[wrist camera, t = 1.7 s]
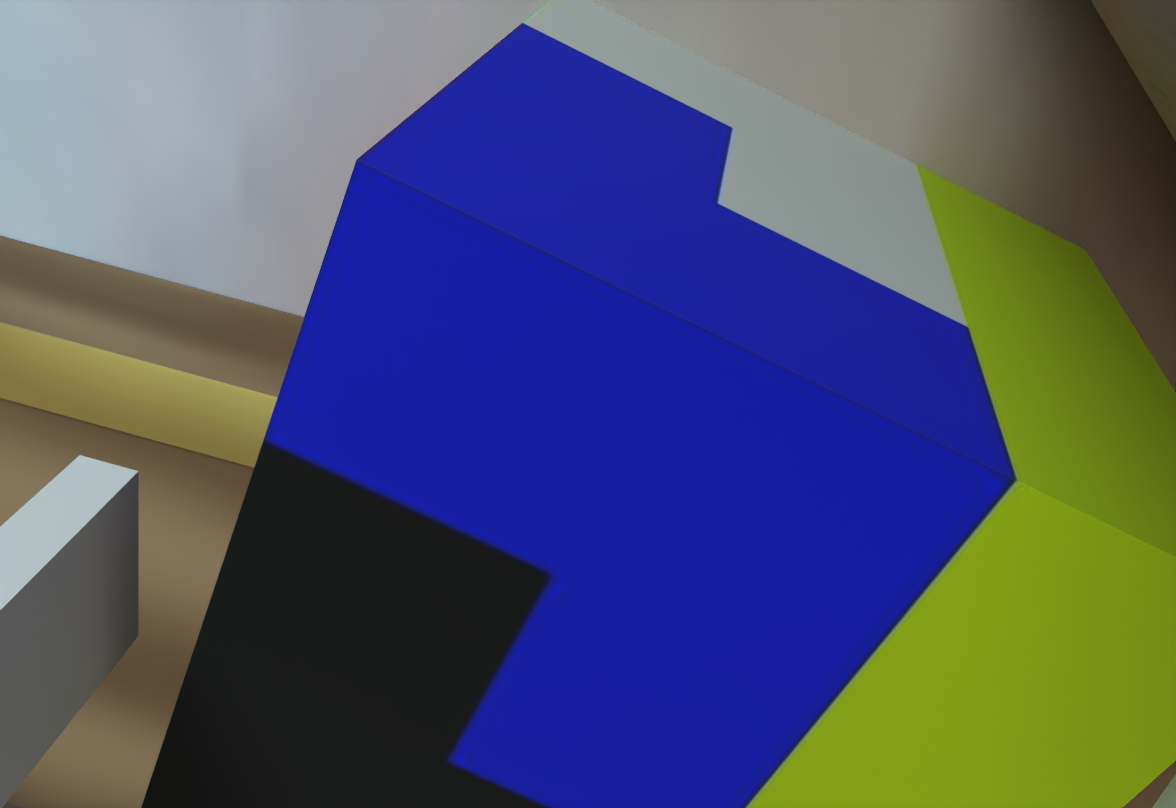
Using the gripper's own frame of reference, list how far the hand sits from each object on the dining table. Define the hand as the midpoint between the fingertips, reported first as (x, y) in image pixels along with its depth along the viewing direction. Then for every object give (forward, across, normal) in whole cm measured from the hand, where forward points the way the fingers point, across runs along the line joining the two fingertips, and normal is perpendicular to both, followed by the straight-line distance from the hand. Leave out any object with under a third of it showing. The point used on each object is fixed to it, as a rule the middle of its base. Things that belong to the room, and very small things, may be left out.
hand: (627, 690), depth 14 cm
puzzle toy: (+9, 0, 0) cm, 9 cm away
